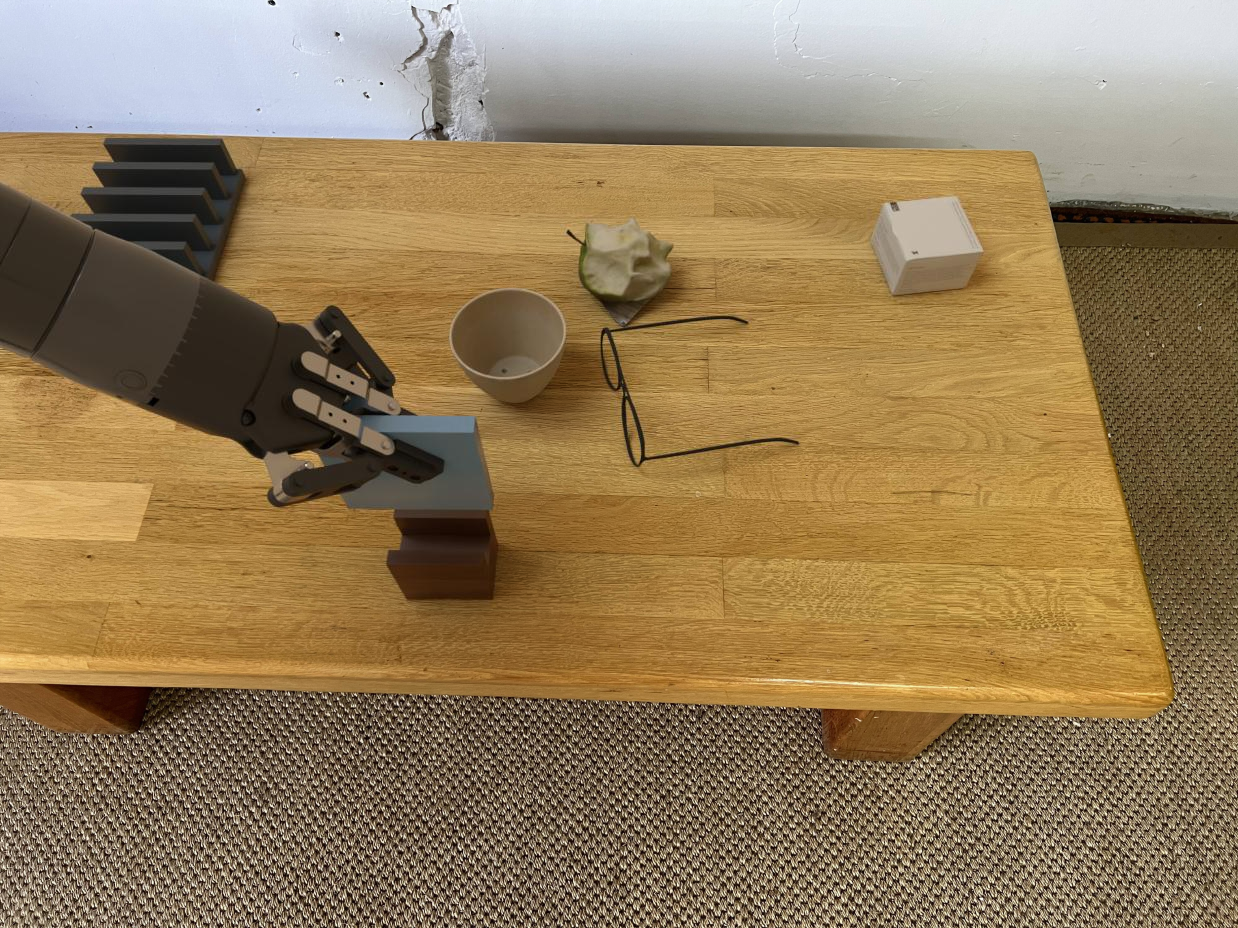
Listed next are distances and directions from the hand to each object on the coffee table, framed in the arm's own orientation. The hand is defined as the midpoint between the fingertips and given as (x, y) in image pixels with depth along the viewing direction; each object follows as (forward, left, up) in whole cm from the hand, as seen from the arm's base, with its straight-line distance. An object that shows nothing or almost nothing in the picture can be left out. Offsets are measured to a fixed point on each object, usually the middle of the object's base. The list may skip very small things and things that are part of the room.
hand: (437, 459), depth 55 cm
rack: (-22, +45, -18) cm, 53 cm away
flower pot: (+8, +17, -18) cm, 26 cm away
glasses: (+23, +10, -18) cm, 31 cm away
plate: (-2, +1, -6) cm, 6 cm away
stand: (-2, +1, -18) cm, 18 cm away
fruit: (+21, +25, -18) cm, 38 cm away
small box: (+50, +18, -18) cm, 56 cm away
